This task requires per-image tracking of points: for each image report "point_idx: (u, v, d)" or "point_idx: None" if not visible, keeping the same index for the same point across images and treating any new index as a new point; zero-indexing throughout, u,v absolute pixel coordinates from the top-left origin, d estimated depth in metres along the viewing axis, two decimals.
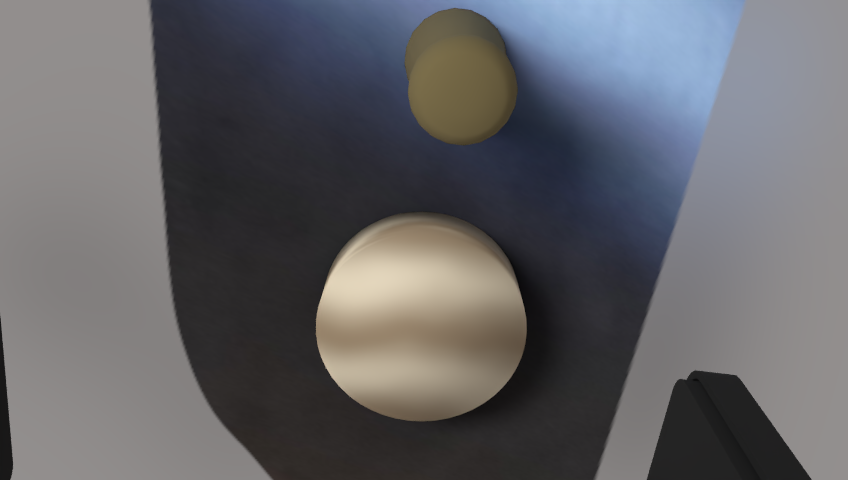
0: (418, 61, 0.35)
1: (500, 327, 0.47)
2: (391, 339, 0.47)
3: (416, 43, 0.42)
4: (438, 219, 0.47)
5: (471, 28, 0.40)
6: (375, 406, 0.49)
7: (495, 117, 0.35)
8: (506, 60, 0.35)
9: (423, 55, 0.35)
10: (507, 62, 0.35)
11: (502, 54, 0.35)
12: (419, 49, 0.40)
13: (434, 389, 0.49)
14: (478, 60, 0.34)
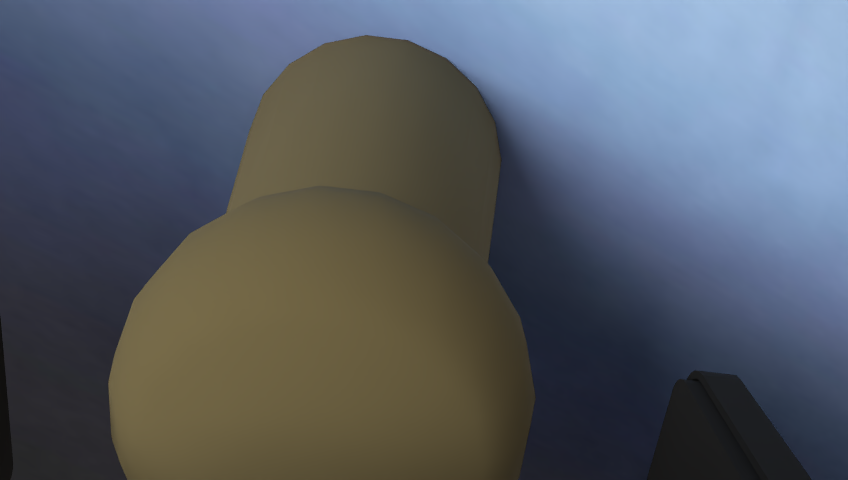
0: (132, 311, 0.09)
1: None
2: None
3: (249, 141, 0.15)
4: None
5: (390, 114, 0.13)
6: None
7: None
8: (490, 315, 0.08)
9: (151, 287, 0.09)
10: (496, 323, 0.08)
11: (474, 286, 0.09)
12: (239, 173, 0.14)
13: None
14: (364, 342, 0.08)
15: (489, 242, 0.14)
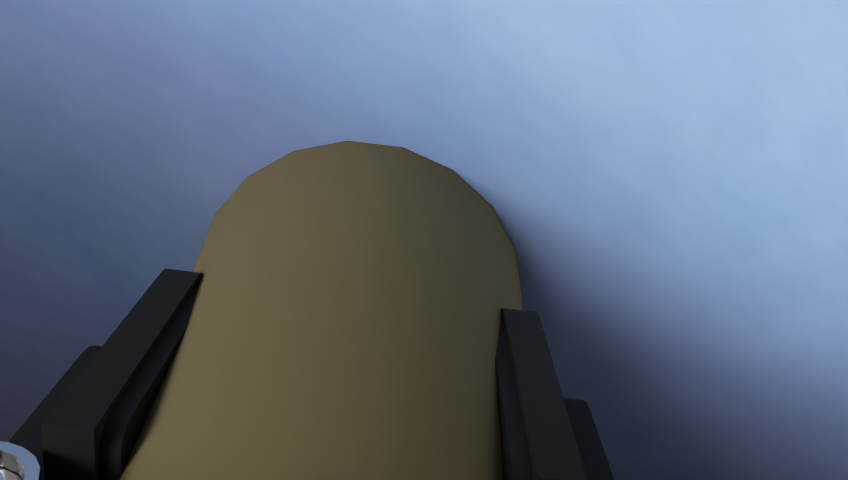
0: None
1: None
2: None
3: None
4: None
5: (374, 287, 0.09)
6: None
7: None
8: None
9: None
10: None
11: None
12: None
13: None
14: None
15: None
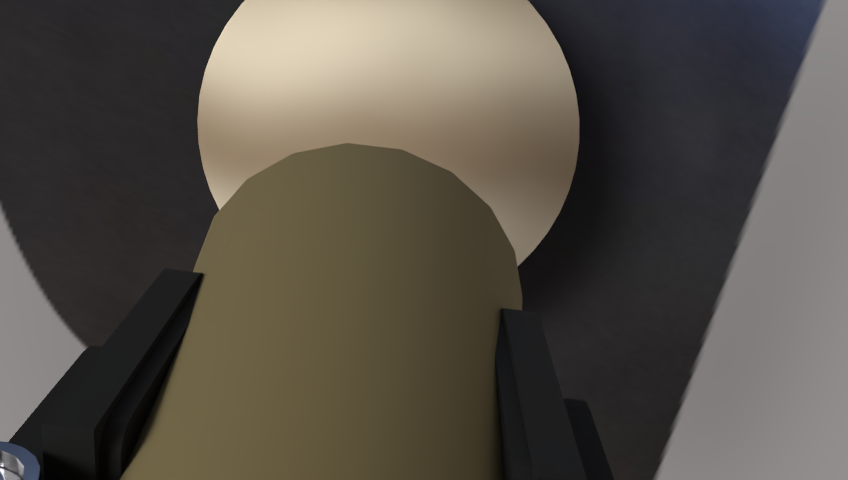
0: None
1: (532, 133, 0.26)
2: None
3: None
4: None
5: (374, 290, 0.09)
6: None
7: None
8: None
9: None
10: None
11: None
12: None
13: None
14: None
15: None
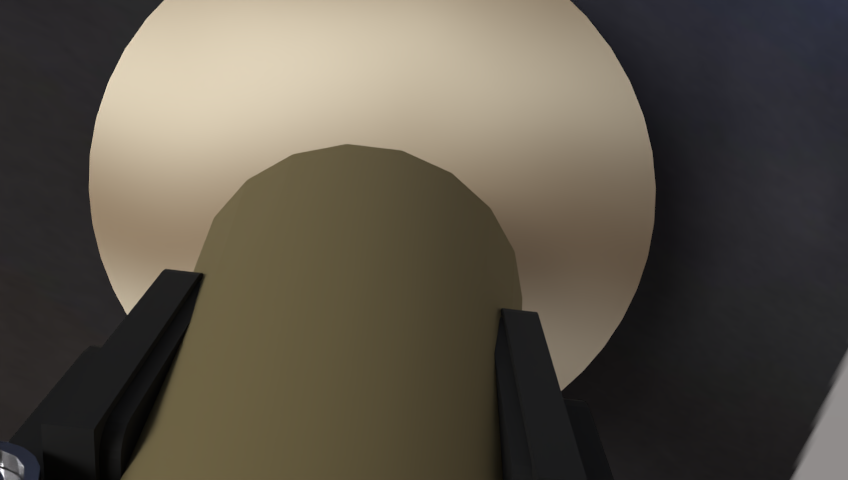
0: None
1: (585, 209, 0.17)
2: None
3: None
4: None
5: (374, 292, 0.09)
6: None
7: None
8: None
9: None
10: None
11: None
12: None
13: None
14: None
15: None
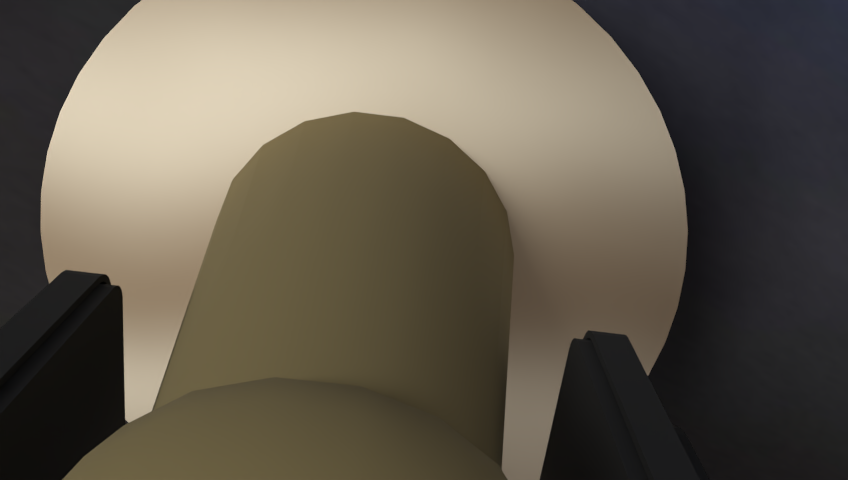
0: None
1: (606, 254, 0.15)
2: None
3: (208, 247, 0.12)
4: None
5: (380, 230, 0.10)
6: None
7: None
8: None
9: None
10: None
11: None
12: (191, 298, 0.11)
13: None
14: None
15: (505, 387, 0.11)
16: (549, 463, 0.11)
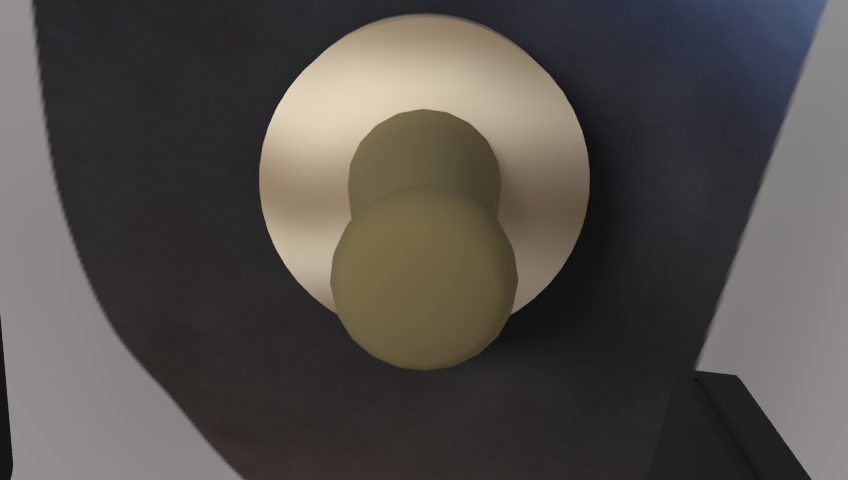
0: (346, 234, 0.20)
1: (548, 184, 0.30)
2: None
3: (360, 168, 0.27)
4: (453, 17, 0.30)
5: (444, 154, 0.25)
6: None
7: (478, 334, 0.20)
8: (499, 237, 0.20)
9: (355, 224, 0.20)
10: (501, 241, 0.20)
11: (492, 225, 0.20)
12: (362, 184, 0.25)
13: None
14: (450, 242, 0.19)
15: None
16: None
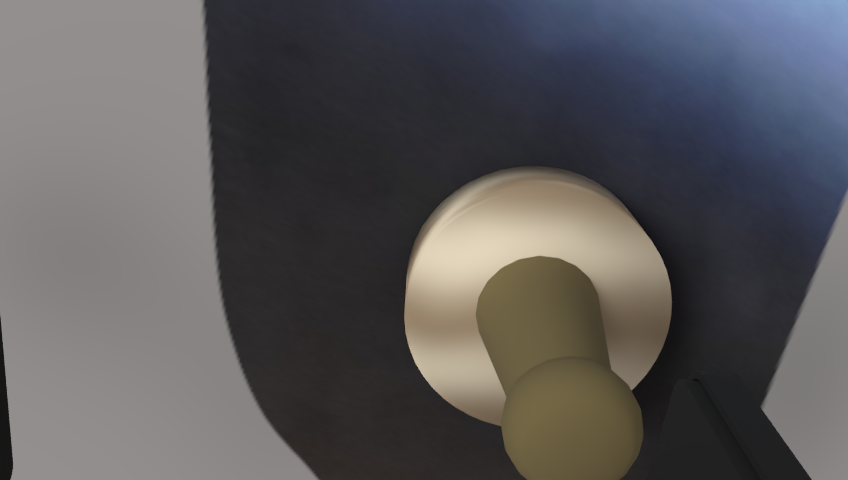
0: (518, 400, 0.27)
1: (638, 311, 0.37)
2: None
3: (496, 313, 0.34)
4: (558, 174, 0.37)
5: (570, 311, 0.32)
6: (474, 410, 0.39)
7: (617, 473, 0.27)
8: (632, 402, 0.27)
9: (525, 393, 0.27)
10: (634, 405, 0.27)
11: (627, 393, 0.27)
12: (504, 332, 0.33)
13: None
14: (600, 412, 0.26)
15: None
16: None
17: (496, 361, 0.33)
